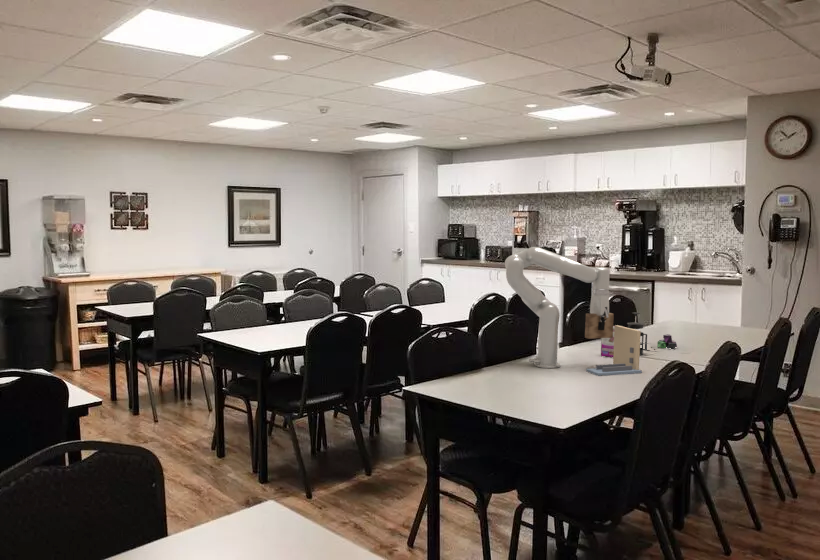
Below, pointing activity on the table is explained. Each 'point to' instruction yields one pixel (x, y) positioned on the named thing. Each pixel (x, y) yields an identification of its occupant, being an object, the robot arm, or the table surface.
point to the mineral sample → (667, 342)
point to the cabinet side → (622, 353)
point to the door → (592, 326)
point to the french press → (640, 326)
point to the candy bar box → (607, 346)
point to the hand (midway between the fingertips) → (599, 329)
